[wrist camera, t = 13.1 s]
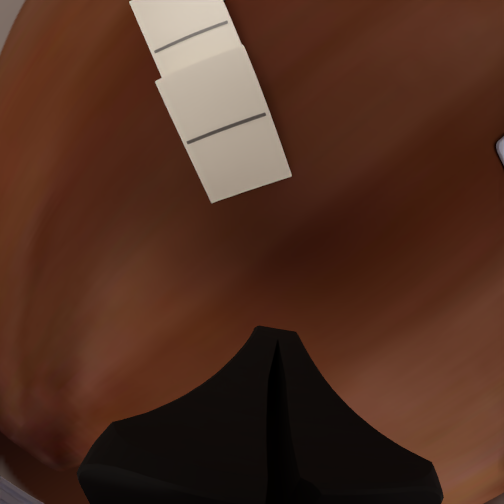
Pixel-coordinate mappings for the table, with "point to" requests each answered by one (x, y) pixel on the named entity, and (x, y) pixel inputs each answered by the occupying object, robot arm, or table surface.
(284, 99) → the table surface
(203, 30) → the tile
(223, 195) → the lead tile
